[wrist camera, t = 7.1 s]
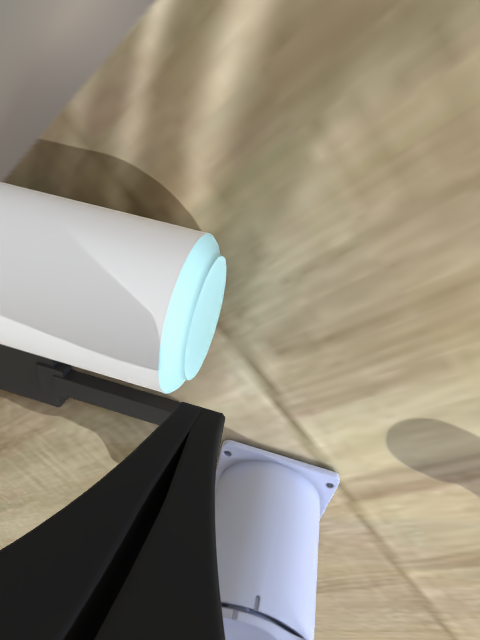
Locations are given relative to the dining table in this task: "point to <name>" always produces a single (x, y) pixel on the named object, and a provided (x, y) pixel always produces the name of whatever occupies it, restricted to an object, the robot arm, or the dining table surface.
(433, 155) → the dining table surface
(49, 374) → the spatula
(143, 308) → the can
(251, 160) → the dining table surface
